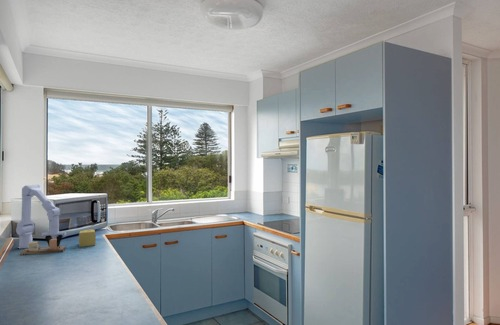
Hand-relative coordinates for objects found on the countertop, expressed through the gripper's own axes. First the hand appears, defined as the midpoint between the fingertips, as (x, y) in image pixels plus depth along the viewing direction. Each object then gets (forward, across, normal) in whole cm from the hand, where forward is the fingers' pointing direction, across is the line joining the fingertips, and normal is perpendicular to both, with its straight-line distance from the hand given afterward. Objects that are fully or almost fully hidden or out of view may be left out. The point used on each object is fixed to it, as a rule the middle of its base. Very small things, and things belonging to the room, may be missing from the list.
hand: (54, 246), depth 231 cm
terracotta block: (+2, 0, 0) cm, 2 cm away
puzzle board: (+3, +6, +1) cm, 7 cm away
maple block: (+3, +12, +2) cm, 12 cm away
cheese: (+3, -17, -14) cm, 22 cm away
